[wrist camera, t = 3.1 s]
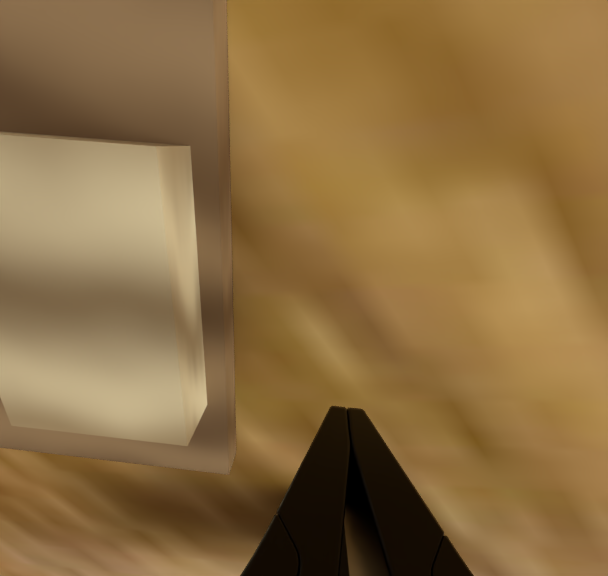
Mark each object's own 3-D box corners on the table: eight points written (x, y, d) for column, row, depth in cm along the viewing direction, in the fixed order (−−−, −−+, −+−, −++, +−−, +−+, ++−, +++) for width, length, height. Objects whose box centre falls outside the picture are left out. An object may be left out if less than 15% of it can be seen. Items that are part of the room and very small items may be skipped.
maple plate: (207, 404, 17) (187, 446, 14) (54, 387, 17) (11, 425, 15) (190, 145, 12) (156, 146, 10) (-24, 129, 12) (-106, 126, 10)
